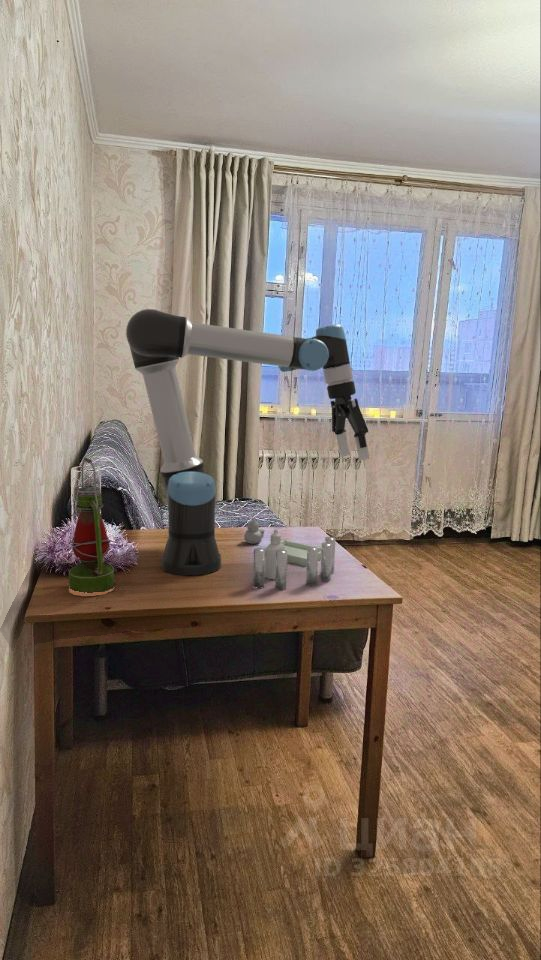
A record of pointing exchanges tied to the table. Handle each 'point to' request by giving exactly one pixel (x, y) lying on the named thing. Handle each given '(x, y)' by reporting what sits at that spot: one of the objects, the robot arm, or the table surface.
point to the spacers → (311, 569)
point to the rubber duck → (253, 532)
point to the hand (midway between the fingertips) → (354, 457)
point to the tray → (297, 552)
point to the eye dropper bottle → (272, 555)
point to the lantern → (90, 543)
